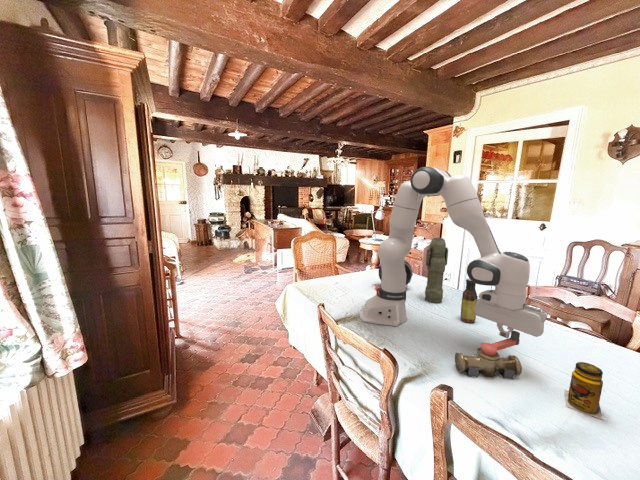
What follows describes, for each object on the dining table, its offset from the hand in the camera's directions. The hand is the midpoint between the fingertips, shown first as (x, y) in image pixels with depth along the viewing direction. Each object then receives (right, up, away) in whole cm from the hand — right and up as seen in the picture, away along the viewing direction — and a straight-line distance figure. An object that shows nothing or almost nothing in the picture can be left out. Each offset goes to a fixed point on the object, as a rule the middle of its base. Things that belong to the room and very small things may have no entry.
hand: (504, 336), depth 94 cm
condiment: (+9, -13, -19) cm, 24 cm away
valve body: (-10, -10, -6) cm, 15 cm away
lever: (-4, -2, -5) cm, 7 cm away
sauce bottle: (+4, -4, +31) cm, 31 cm away
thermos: (-2, 0, +54) cm, 54 cm away
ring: (-18, +4, +73) cm, 76 cm away
